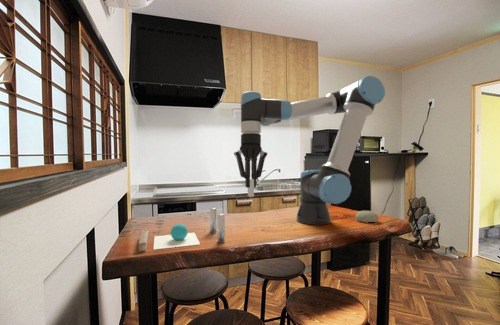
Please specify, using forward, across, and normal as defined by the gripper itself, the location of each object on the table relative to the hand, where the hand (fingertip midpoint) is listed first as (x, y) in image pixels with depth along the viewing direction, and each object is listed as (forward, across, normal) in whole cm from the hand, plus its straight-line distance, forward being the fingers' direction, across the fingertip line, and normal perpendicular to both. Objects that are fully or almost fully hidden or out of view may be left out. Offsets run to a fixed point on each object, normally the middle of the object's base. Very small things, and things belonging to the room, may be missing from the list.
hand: (250, 196), depth 91 cm
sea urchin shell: (+14, -57, 0) cm, 58 cm away
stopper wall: (+14, +37, 0) cm, 39 cm away
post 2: (+14, +13, +6) cm, 20 cm away
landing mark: (+14, +27, 0) cm, 30 cm away
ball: (+11, +26, 0) cm, 28 cm away
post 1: (+14, +13, -6) cm, 20 cm away
